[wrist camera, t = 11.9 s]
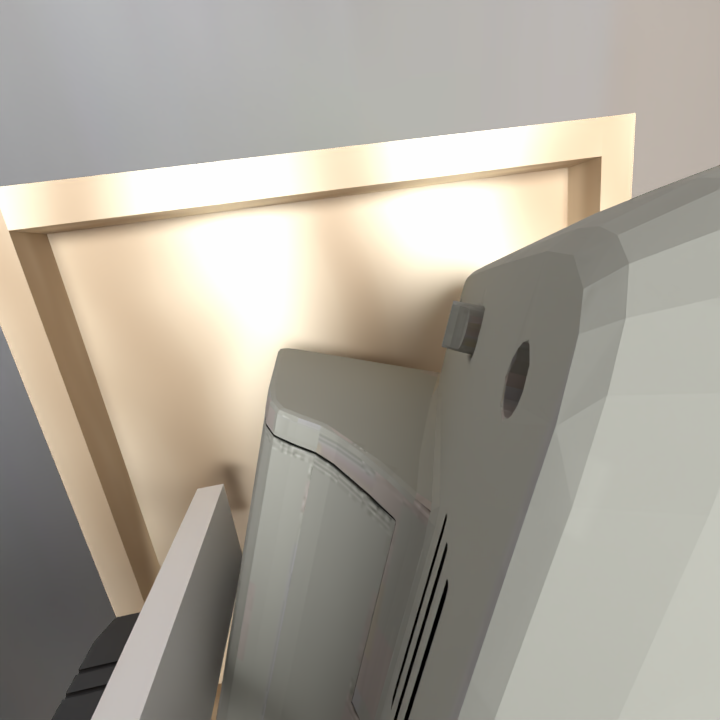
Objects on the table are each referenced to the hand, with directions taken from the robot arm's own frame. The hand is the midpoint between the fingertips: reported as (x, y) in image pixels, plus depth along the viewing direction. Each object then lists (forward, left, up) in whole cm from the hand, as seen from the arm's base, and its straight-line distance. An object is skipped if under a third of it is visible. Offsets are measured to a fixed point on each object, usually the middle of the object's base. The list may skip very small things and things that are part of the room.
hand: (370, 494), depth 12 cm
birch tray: (0, 0, -3) cm, 3 cm away
